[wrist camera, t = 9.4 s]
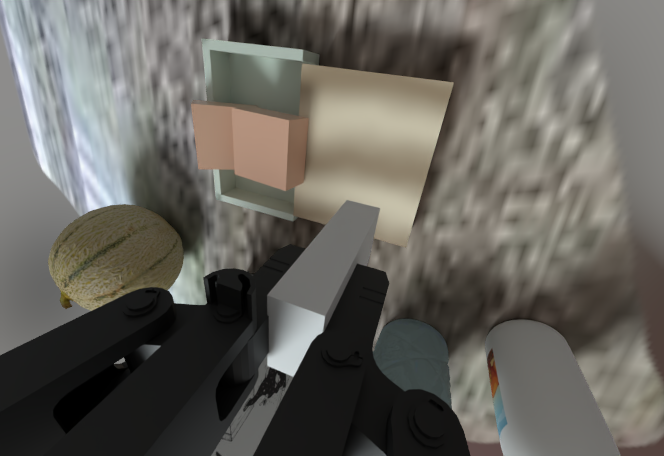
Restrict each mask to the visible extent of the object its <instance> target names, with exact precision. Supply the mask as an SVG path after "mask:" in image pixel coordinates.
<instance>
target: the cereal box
mask: <svg viewBox="0 0 664 456" xmlns="http://www.w3.org/2000/svg"><path fill="white" fill-rule="evenodd" d="M251 275H252V276H253V274H251ZM258 371H259V377H258V379H257V382H256V384H255V386H254V388H253V389H252V391H251V392H250V394H249V396H248V397H247V399H246V401H245V402H244V404H243V405H242V407H241V409H240V410H239V412H238V413H237V415H236V417H235V418H234V420H233V421H232V423H231V425H230V426H229V428H228V429H227V431H226V433H225V434H224V436H223V437H222V439H221V441H220V442H219V444H218V445H217V447H216V449H215V450H214V452H213V454H212V455H211V456H253V455H254V453H255V451H256V449H257V447H258V445H259V443H260V441H261V439H262V437H263V435H264V433H265V431H266V429H267V427H268V426H269V424H270V422H271V420H272V418H273V416H274V414H275V412H276V410H277V408H278V406H279V404H280V402H281V400H282V398H283V396H284V394H285V393H286V391H287V389H288V387H289V385H290V383H291V381H292V379H293V377H292V376H290V375H288V374H285V373H283V372H281V371H278V370H276V369H274V368H271V367H269V366H267V356H266V357H265V359H264V360H263V362H262V363H261V365H260V366H259V368H258Z"/></svg>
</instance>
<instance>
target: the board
mask: <svg viewBox="0 0 664 456" xmlns="http://www.w3.org/2000/svg"><path fill="white" fill-rule="evenodd" d="M453 85H454V82H446V81H438V80H430V79H422V78H414V77H406V76H398V75H390V74H382V73H374V72H366V71H358V70H350V69H342V68H334V67H326V66H318V65H310V64H302V70H301V88H300V105H299V116H301V117H306V118H309V122H308V135H307V147H306V160H305V172H304V183H302V184H300V185H298V186H296V187H295V193H294V211H293V216H296V217H300V218H303V219H307V220H311V221H314V222H318V223H321V224H325V225H326V224H327V223H328V222H329V221H330V219H331V218H332V217H333V216H334V215H335V213H336V212H337V211H338V210H339V209H340V207H341V206H342V205H343V204H344V203H345V201H346V200H349V201H353V202H357V203H361V204H366V205H370V206H374V207H378V208H380V212H379V216H378V221H377V225H376V230H375V234H374V239H378V240H381V241H385V242H388V243H392V244H395V245H399V246H402V247H406V246H407V242H408V239H409V236H410V232H411V229H412V225H413V222H414V218H415V215H416V212H417V208H418V205H419V201H420V198H421V194H422V191H423V188H424V184H425V181H426V177H427V174H428V170H429V167H430V163H431V160H432V157H433V153H434V150H435V146H436V143H437V139H438V136H439V133H440V129H441V126H442V122H443V119H444V115H445V112H446V109H447V105H448V102H449V98H450V95H451V91H452V88H453Z"/></svg>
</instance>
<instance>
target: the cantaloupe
mask: <svg viewBox="0 0 664 456" xmlns="http://www.w3.org/2000/svg"><path fill="white" fill-rule="evenodd" d="M183 255H184V254H183V247H182V241H181V238H180V236H179V234H178V233H177V232H176V231H175V230H174V228H173V227H172V226H171V225H170V224H169V223H168V222H167V221H166V220H164V219H163V218H162V217H161V216H160V215H158V214H156V213H155V212H153V211H150V210H148V209H145V208H143V207H140V206H135V205H126V204H123V205H111V206H107V207H103V208H99V209H96V210H93V211H90V212H88V213H86V214H84V215H83V216H81V217H79V218H78V219H76V220H74V222H72V223H71V224H69V225H68V226H67V227H66V228H65V229H64V230H63V231H62V233H61V234H60V235H59V236H58V238H57V239H56V241H55V243H54V244H53V246H52V248H51V252H50V255H49V259H48V265H49V270H50V274H51V276H52V278H53V280H54V281H55V284H56V285H57V286H58V287H59V288H60V291H61V298H60V302H61V305H62V307H64V308H65V309H67V308H69V307H72V305H71V304H70V302H69V301H70V300H72V301H75V302H76V303H77V304H79V305H80V306H81V307H83V308H86V309H88V310H91V311H92V310H94V309H96V308H98V307H101V306H103V305H105V304H107V303H109V302H111V301H113V300H115V299H117V298H119V297H121V296H123V295H125V294H127V293H130V292H132V291H135V290H138V289H142V288H148V287H158V288H163V289H165V290H168V289H169V288H170V287H171V286H172V285H173V284H174V282H175V281H176V279H177V277H178V276H179V273H180V271H181V268H182V265H183V259H184V257H183Z"/></svg>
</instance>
